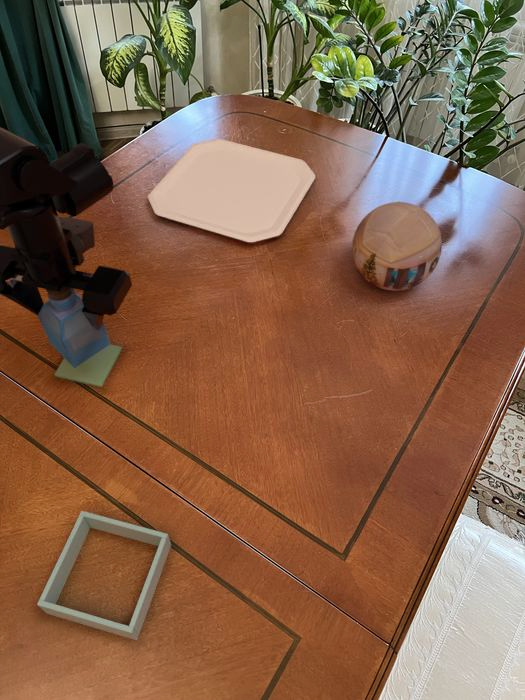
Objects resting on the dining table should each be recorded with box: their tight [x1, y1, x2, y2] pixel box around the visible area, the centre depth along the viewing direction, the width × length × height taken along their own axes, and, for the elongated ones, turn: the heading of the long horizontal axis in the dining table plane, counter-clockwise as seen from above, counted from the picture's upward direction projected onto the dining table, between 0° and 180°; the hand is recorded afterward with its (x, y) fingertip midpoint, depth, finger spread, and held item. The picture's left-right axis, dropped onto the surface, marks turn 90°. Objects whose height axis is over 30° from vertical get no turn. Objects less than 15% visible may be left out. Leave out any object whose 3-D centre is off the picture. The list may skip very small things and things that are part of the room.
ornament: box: [351, 201, 443, 292], centre depth 98 cm, size 15×15×15 cm
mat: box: [53, 343, 123, 389], centre depth 91 cm, size 8×8×1 cm
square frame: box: [36, 510, 172, 641], centre depth 69 cm, size 12×12×4 cm
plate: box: [147, 138, 316, 244], centre depth 118 cm, size 29×29×2 cm
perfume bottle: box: [37, 286, 111, 368], centre depth 79 cm, size 6×6×12 cm
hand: (71, 321), depth 79 cm, fingers closed on perfume bottle, 8 cm apart
